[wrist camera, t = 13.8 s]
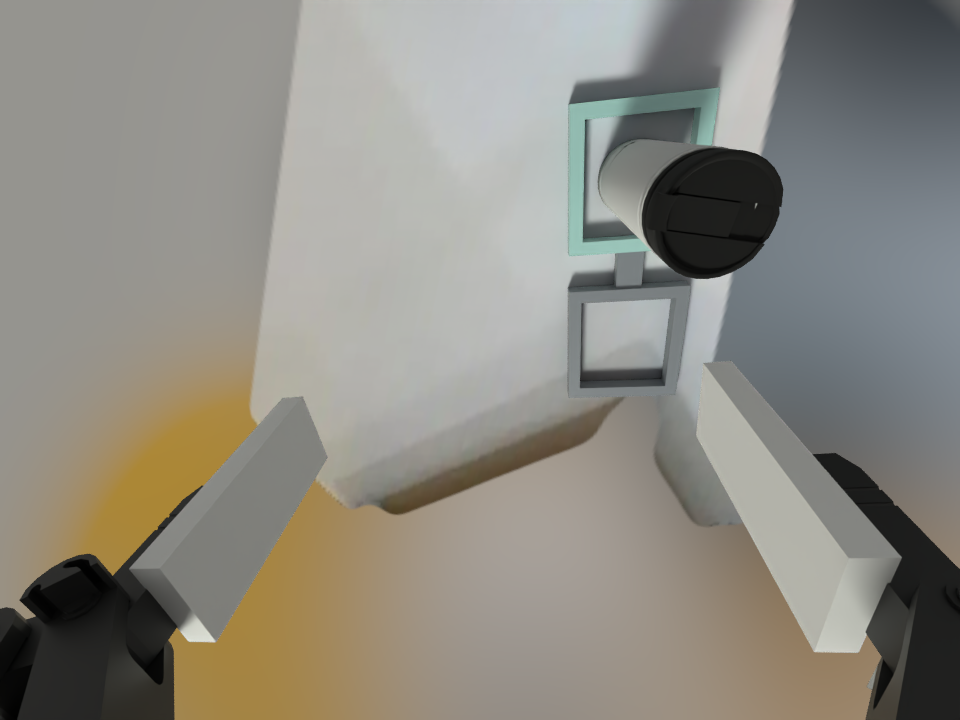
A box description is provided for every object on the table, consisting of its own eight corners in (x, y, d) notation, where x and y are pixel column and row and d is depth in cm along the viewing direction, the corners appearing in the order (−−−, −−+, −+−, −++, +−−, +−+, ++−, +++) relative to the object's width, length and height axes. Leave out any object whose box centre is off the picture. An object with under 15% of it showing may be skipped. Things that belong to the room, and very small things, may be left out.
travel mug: (603, 133, 37) (673, 139, 19) (680, 144, 36) (822, 159, 19) (586, 209, 40) (632, 273, 22) (657, 219, 39) (760, 292, 22)
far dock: (568, 252, 42) (569, 256, 40) (691, 243, 40) (696, 247, 39) (567, 390, 49) (568, 397, 48) (671, 387, 48) (675, 395, 46)
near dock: (568, 105, 36) (570, 104, 35) (712, 88, 34) (719, 87, 33) (568, 252, 42) (569, 256, 40) (691, 243, 40) (696, 247, 39)
